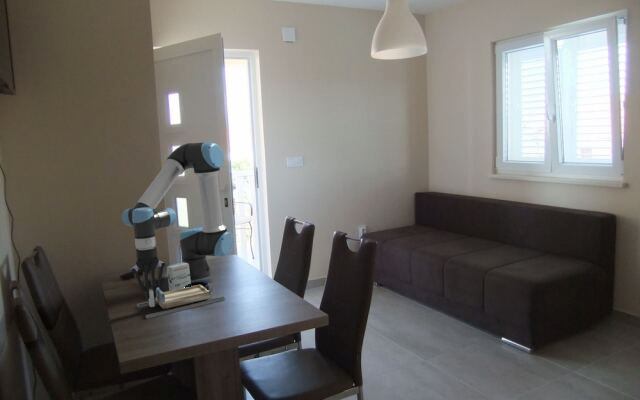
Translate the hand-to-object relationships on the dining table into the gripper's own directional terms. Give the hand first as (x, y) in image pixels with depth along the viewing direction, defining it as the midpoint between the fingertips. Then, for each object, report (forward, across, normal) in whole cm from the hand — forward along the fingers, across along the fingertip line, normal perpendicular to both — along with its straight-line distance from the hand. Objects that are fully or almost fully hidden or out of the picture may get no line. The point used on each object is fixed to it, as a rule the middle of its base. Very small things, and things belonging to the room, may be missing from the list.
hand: (152, 305), depth 182 cm
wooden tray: (+2, +12, 0) cm, 12 cm away
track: (+2, +11, 0) cm, 12 cm away
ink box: (+2, +16, +17) cm, 23 cm away
